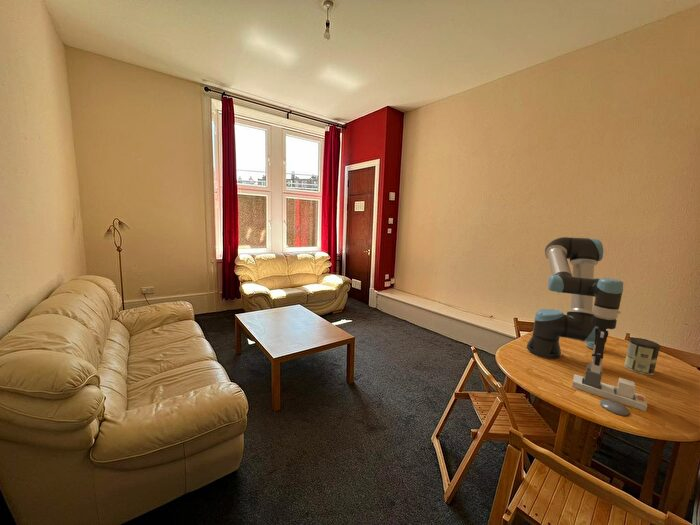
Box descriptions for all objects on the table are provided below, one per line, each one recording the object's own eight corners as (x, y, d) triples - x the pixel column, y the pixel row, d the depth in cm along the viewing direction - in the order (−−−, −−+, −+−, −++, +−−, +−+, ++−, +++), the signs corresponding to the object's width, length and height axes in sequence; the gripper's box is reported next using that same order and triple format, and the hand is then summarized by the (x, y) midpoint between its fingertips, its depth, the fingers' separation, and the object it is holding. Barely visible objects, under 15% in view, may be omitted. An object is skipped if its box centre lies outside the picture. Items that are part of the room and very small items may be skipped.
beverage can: (584, 344, 162) (588, 324, 160) (600, 347, 158) (604, 327, 156) (585, 348, 157) (589, 327, 155) (602, 352, 153) (606, 331, 151)
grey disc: (600, 408, 107) (600, 406, 106) (600, 398, 113) (600, 396, 112) (629, 418, 101) (629, 416, 101) (627, 407, 107) (628, 406, 107)
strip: (572, 386, 120) (573, 380, 119) (573, 377, 127) (574, 371, 126) (645, 411, 106) (647, 404, 105) (643, 399, 113) (644, 392, 112)
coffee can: (642, 365, 140) (648, 338, 138) (660, 376, 130) (667, 348, 128) (618, 362, 142) (623, 336, 140) (634, 373, 132) (640, 345, 130)
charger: (583, 385, 118) (586, 367, 117) (584, 380, 122) (587, 363, 121) (598, 390, 115) (602, 372, 114) (599, 385, 119) (602, 367, 118)
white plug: (616, 395, 112) (619, 382, 111) (616, 390, 115) (619, 377, 114) (632, 400, 109) (635, 386, 108) (631, 395, 112) (634, 381, 111)
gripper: (618, 327, 102) (608, 381, 105) (615, 312, 120) (606, 358, 124) (591, 322, 107) (582, 373, 110) (592, 308, 125) (584, 352, 129)
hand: (595, 365), depth 117 cm, fingers open, 13 cm apart
